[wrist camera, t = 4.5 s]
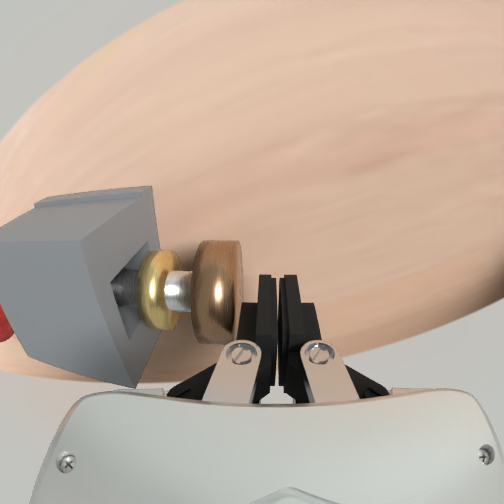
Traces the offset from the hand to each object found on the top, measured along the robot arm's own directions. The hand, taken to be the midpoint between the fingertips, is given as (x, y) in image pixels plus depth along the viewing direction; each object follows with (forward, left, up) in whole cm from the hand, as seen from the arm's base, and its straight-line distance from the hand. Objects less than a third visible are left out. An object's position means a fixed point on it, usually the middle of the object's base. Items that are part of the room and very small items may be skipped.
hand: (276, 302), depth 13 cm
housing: (+12, 0, -4) cm, 12 cm away
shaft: (+8, 0, -3) cm, 9 cm away
